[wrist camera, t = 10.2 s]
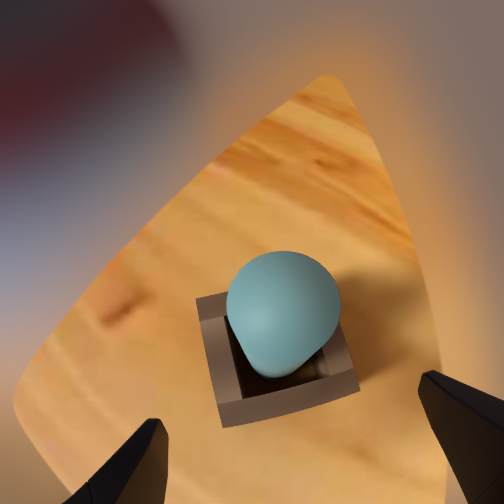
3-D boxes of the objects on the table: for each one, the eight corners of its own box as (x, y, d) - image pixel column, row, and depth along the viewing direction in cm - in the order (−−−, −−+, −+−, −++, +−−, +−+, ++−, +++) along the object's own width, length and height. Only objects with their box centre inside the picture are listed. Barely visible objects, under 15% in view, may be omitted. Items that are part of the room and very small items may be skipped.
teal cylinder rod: (297, 382, 20) (339, 362, 8) (247, 378, 20) (219, 353, 8) (300, 334, 21) (339, 254, 10) (252, 331, 21) (233, 247, 10)
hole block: (342, 392, 19) (360, 390, 15) (231, 421, 18) (222, 428, 14) (311, 292, 23) (320, 268, 19) (208, 317, 22) (195, 298, 18)
